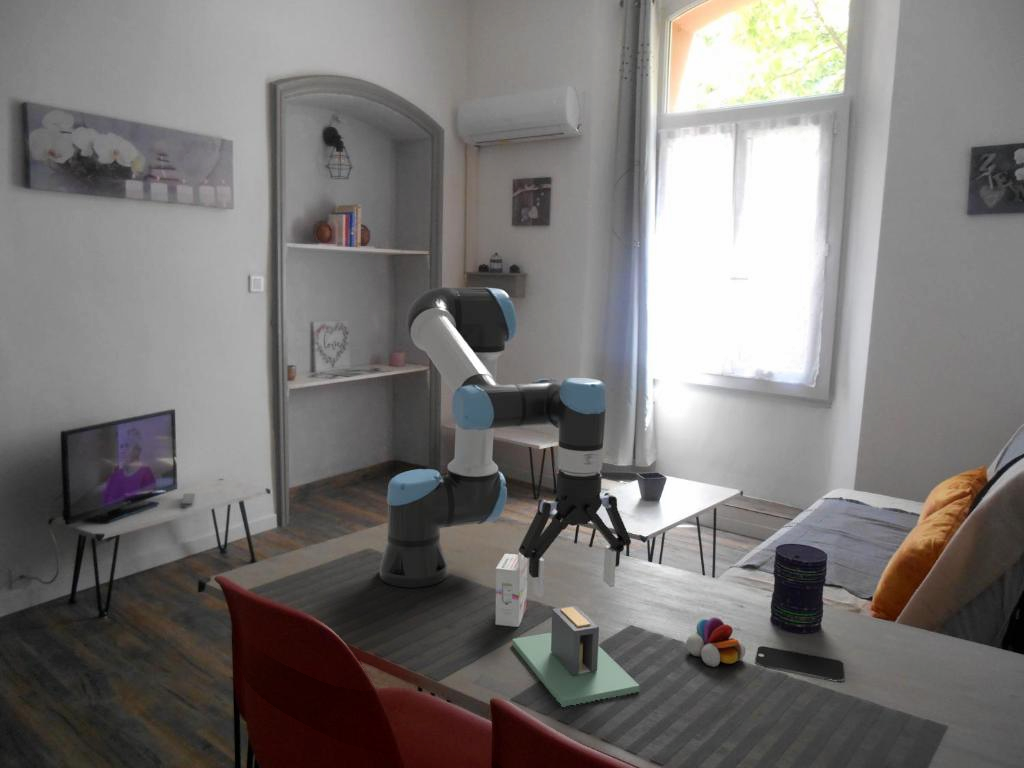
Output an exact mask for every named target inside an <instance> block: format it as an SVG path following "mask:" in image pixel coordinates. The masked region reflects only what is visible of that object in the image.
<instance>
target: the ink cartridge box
mask: <svg viewBox="0 0 1024 768" xmlns="http://www.w3.org/2000/svg"><path fill="white" fill-rule="evenodd" d="M528 562H529V558H525V557H524V556H523V555H522V554H521V553H520V552H518V554H514V553H504V555H503V556H502V558H501V559H500V561H499V562H498V564H497V566H496V567H495V622H494V623H495V625H496V626H505V627H514V628H516V627H517V628H518V627H519V626H520V625H521V622H522V621H523V617H524V616H525V615H524V614H525V612H526V609H527V595H528V594H527V593H528Z"/></svg>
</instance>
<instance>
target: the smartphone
mask: <svg viewBox="0 0 1024 768" xmlns="http://www.w3.org/2000/svg"><path fill="white" fill-rule="evenodd" d="M756 649H757V650H756V654H755V658H754V664H755V663H756V664H757V665H756V664H755V665H756V666H758V665H759V667H761V666H764V667H763V668H766V667H768V669H771V668H772V669H773V670H776V669H777V671H781V670H782V672H787V673H792V674H796V673H797V674H796V675H801V674H804V675H803V676H806V675H808V676H807V677H811V676H815V677H814V678H816V677H820V678H819V679H821V678H824V679H823V680H826V679H832V680H837V681H843V682H845V681H844V679H846V674H845V673H846V669H845V664H844V662H842V661H841V660H839V659H838V660H837V659H833V658H828V657H824V656H817V655H813V654H807V653H802V652H798V651H797V652H796V651H790V650H784V649H781V648H775V647H769V646H763V645H762V646H759V647H757V648H756Z"/></svg>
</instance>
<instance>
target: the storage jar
mask: <svg viewBox="0 0 1024 768" xmlns="http://www.w3.org/2000/svg"><path fill="white" fill-rule="evenodd" d="M774 551H775V552H774V553H775V554H774V555H775V556H774V560H773V570H772V571H773V578H774V581H773V582H774V583H773V592H772V594H771V601H770V616H769V617H770V618H769V619H770V620H769V621H770V623H771V625H773V626H774V627H775V628H776V629H779V630H780V631H783V632H786V633H789V634H793V635H801V636H810V635H815V634H818V633H820V631H821V630H822V622H823V617H824V600H823V598H824V597H823V595H824V586H825V584H826V581H827V577H826V576H827V572H828V571H827V570H828V569H827V568H828V567H827V565H828V563H827V561H828V554H827V553H826V552H825V551H824V550H822V549H820V548H817V547H814V546H811V545H808V544H802V543H801V544H800V543H799V544H798V543H785V544H784V543H783V544H780V545H778V546H776V547H775V550H774Z"/></svg>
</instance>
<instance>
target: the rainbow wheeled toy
mask: <svg viewBox="0 0 1024 768" xmlns="http://www.w3.org/2000/svg"><path fill="white" fill-rule="evenodd" d="M732 634H733V628H732V626H731V625H729V624H725V623H724V622H723V620H722V619H720V618H718V617H717V616H716V617H715V616H714V617H711V618H709V619H706V618H705V619H704V618H703V619H701V620H699V621H698V623H697V624H696V632H695V633H691V634H690V635H689V636H688V637H687V639H686V650H687V651H688V652H689V654H690V655H692V656H694V657H701V660H702V661H703V663H704V664H705V665H707V666H708V667H712V668H715V667H718V666H719V665H720V663H721V662H722V663H724V664H729V665H730V664H734V663H736V662H739V661H741V660H742V659H744V657H745V655H746V646H745V644H744V642H743V641H741V639H738V638H735V637H731V636H732Z"/></svg>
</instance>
